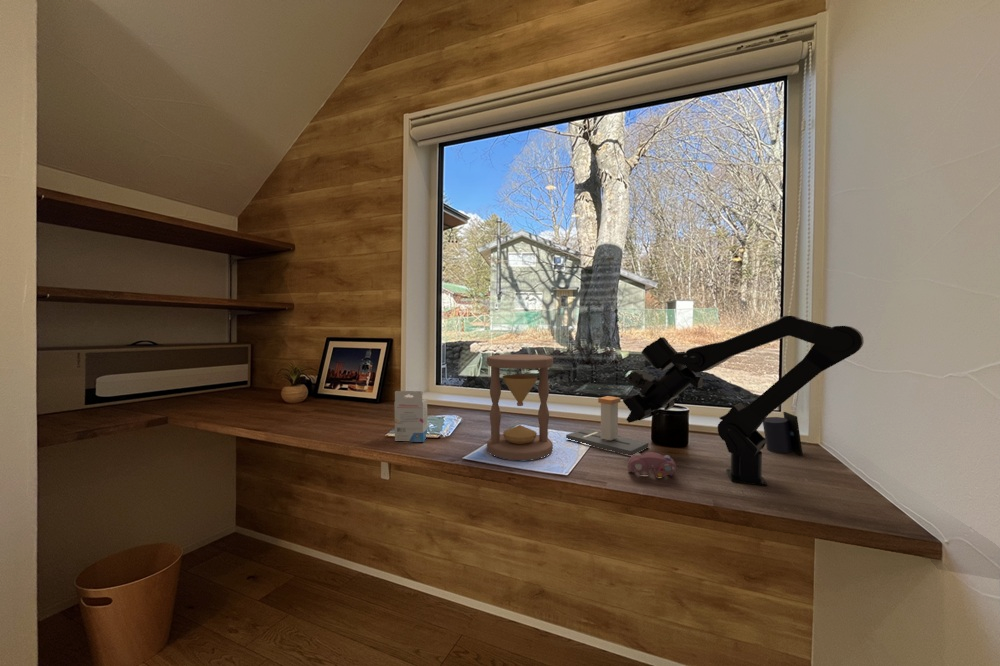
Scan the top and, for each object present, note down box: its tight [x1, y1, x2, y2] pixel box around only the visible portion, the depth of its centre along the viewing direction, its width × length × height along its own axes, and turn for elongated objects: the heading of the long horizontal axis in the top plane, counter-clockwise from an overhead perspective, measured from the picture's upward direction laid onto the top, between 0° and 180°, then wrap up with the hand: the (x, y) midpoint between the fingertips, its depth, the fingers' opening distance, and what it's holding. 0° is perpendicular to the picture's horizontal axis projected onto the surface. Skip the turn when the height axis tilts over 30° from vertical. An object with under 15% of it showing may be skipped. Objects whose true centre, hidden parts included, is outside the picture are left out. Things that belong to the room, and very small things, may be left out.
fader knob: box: [597, 395, 622, 441], centre depth 107 cm, size 4×5×11 cm
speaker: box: [762, 411, 804, 457], centre depth 102 cm, size 8×6×10 cm
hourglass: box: [486, 353, 554, 461], centre depth 102 cm, size 18×18×25 cm
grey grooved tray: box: [565, 427, 650, 455], centre depth 108 cm, size 20×10×2 cm, turn 44°
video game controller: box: [627, 451, 677, 478], centre depth 84 cm, size 10×5×7 cm, turn 77°
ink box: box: [393, 390, 428, 443], centre depth 111 cm, size 8×5×15 cm, turn 85°
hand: (628, 421), depth 103 cm, fingers closed
